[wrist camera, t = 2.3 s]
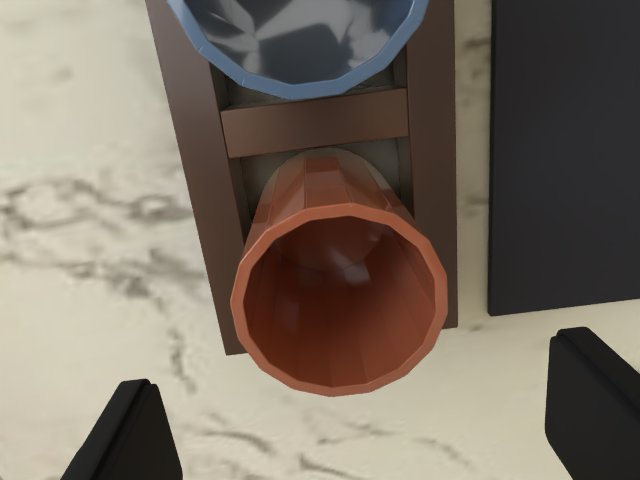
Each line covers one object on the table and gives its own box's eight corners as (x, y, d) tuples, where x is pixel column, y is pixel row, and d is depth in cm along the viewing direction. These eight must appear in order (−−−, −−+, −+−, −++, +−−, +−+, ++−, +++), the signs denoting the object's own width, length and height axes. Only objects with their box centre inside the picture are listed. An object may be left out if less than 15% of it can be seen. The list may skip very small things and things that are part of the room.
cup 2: (249, 156, 23) (212, 219, 13) (386, 139, 23) (446, 191, 13) (271, 279, 25) (251, 407, 16) (394, 264, 25) (450, 383, 16)
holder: (234, 324, 26) (225, 356, 23) (134, -143, 18) (103, -181, 15) (441, 299, 26) (458, 327, 23) (428, -182, 18) (452, -227, 15)
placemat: (493, -105, 19) (498, -110, 19) (733, -137, 19) (744, -142, 19) (487, 312, 26) (490, 317, 26) (661, 291, 26) (668, 295, 26)
